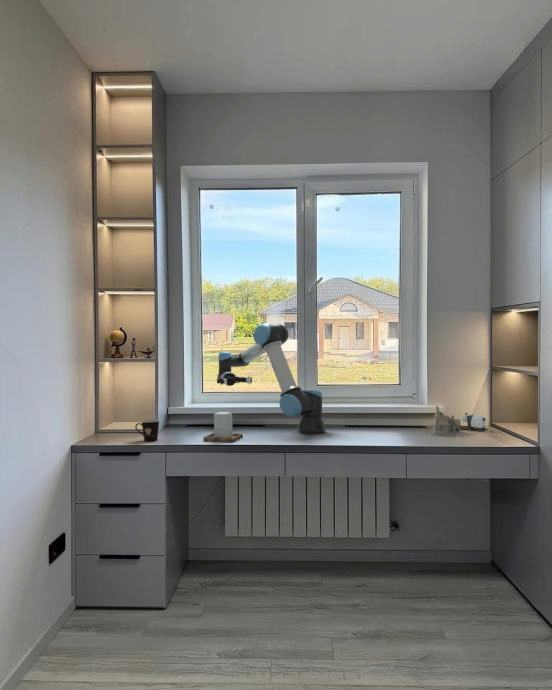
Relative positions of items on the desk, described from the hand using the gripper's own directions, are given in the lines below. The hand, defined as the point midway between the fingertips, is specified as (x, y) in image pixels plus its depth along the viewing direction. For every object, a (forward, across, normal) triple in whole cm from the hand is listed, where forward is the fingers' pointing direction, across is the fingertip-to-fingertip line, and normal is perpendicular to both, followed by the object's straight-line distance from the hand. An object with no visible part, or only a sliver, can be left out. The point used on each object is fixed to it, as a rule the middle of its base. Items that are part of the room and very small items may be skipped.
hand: (238, 381), depth 289 cm
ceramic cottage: (+42, -104, -28) cm, 116 cm away
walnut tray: (+16, +12, -28) cm, 35 cm away
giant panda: (+39, -124, -28) cm, 133 cm away
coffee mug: (+5, +49, -28) cm, 57 cm away
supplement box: (+16, +12, -27) cm, 34 cm away
